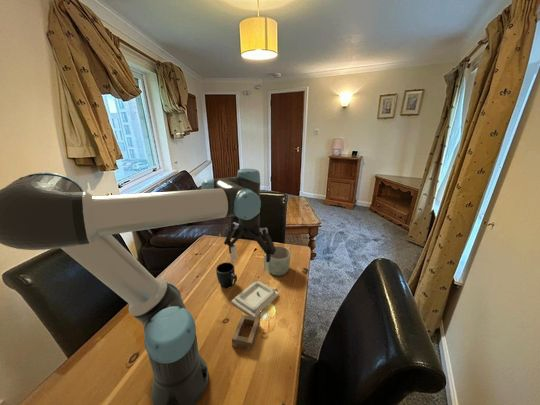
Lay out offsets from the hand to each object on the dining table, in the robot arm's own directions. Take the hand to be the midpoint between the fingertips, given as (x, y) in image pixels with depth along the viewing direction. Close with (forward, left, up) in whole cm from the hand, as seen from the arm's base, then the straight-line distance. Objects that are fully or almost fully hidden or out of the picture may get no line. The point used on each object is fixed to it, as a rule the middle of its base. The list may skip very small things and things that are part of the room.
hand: (249, 264), depth 83 cm
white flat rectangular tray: (+4, +1, -21) cm, 21 cm away
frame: (-11, -8, -21) cm, 24 cm away
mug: (+2, +16, -21) cm, 26 cm away
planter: (+26, +5, -21) cm, 34 cm away
